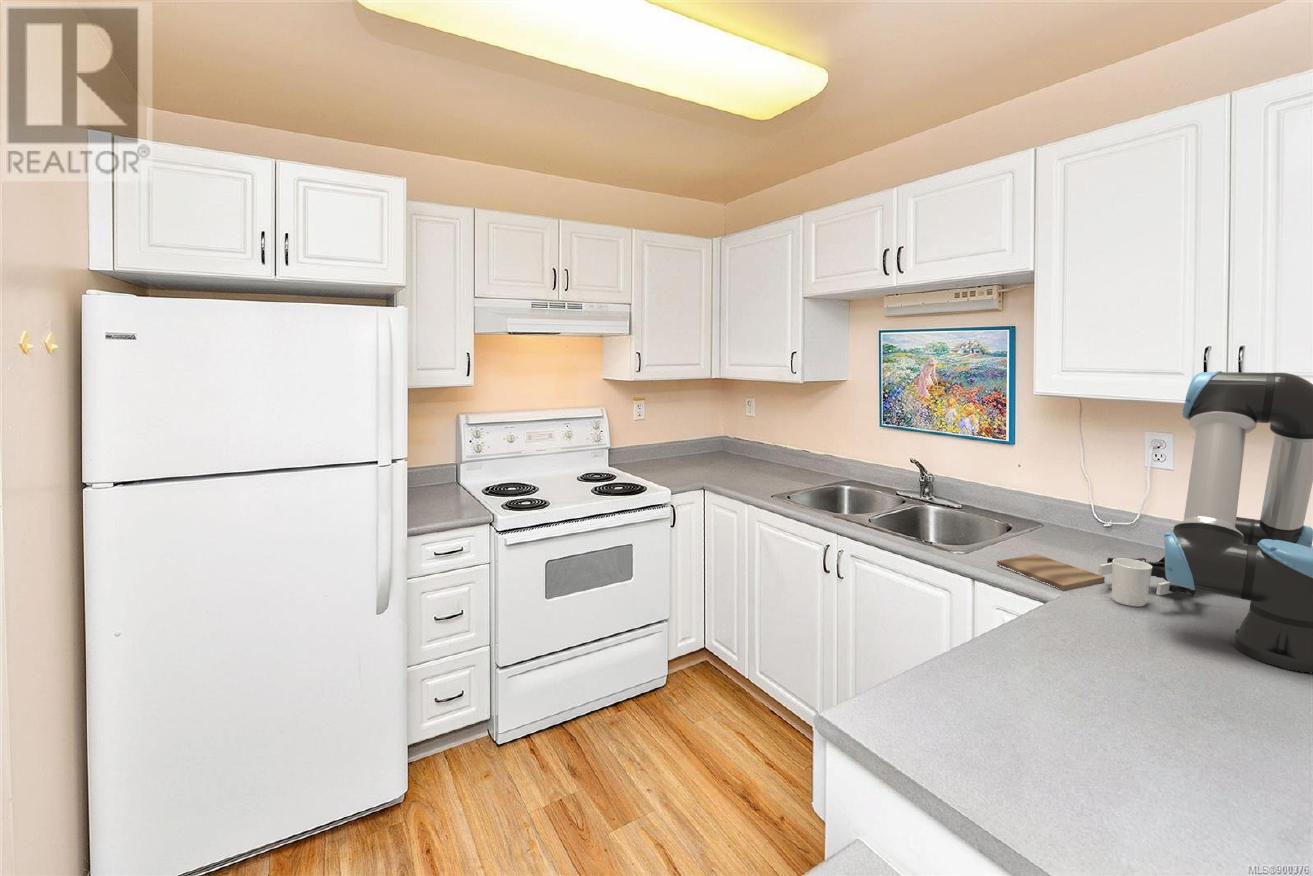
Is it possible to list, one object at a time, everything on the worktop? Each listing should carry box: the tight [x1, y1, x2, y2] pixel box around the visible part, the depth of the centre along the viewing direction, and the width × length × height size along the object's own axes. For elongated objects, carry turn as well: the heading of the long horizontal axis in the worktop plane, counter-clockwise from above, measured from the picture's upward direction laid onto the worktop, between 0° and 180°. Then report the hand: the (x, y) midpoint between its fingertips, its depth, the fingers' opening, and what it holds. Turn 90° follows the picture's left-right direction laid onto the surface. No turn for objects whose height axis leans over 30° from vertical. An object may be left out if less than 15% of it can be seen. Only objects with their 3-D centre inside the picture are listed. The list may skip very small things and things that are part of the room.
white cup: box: [1111, 557, 1152, 608], centre depth 152 cm, size 8×8×10 cm
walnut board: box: [996, 553, 1106, 591], centre depth 171 cm, size 20×16×2 cm
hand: (1128, 579), depth 151 cm, fingers open, 13 cm apart
